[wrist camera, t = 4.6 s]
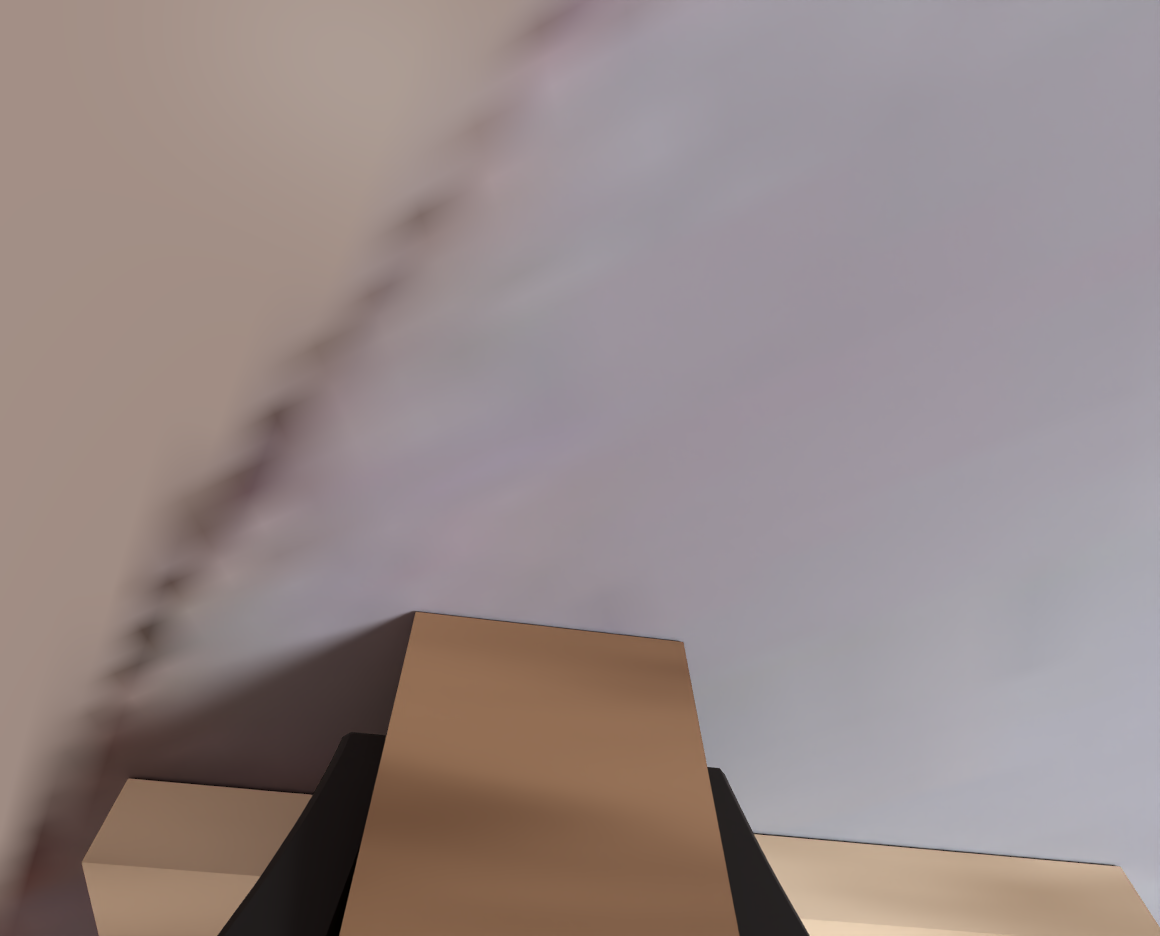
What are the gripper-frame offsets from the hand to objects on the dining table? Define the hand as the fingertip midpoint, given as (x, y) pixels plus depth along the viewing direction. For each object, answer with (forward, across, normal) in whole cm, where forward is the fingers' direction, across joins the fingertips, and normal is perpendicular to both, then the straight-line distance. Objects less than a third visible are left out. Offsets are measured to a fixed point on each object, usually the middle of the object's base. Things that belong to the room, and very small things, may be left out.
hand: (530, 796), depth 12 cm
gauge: (+1, 0, +3) cm, 4 cm away
